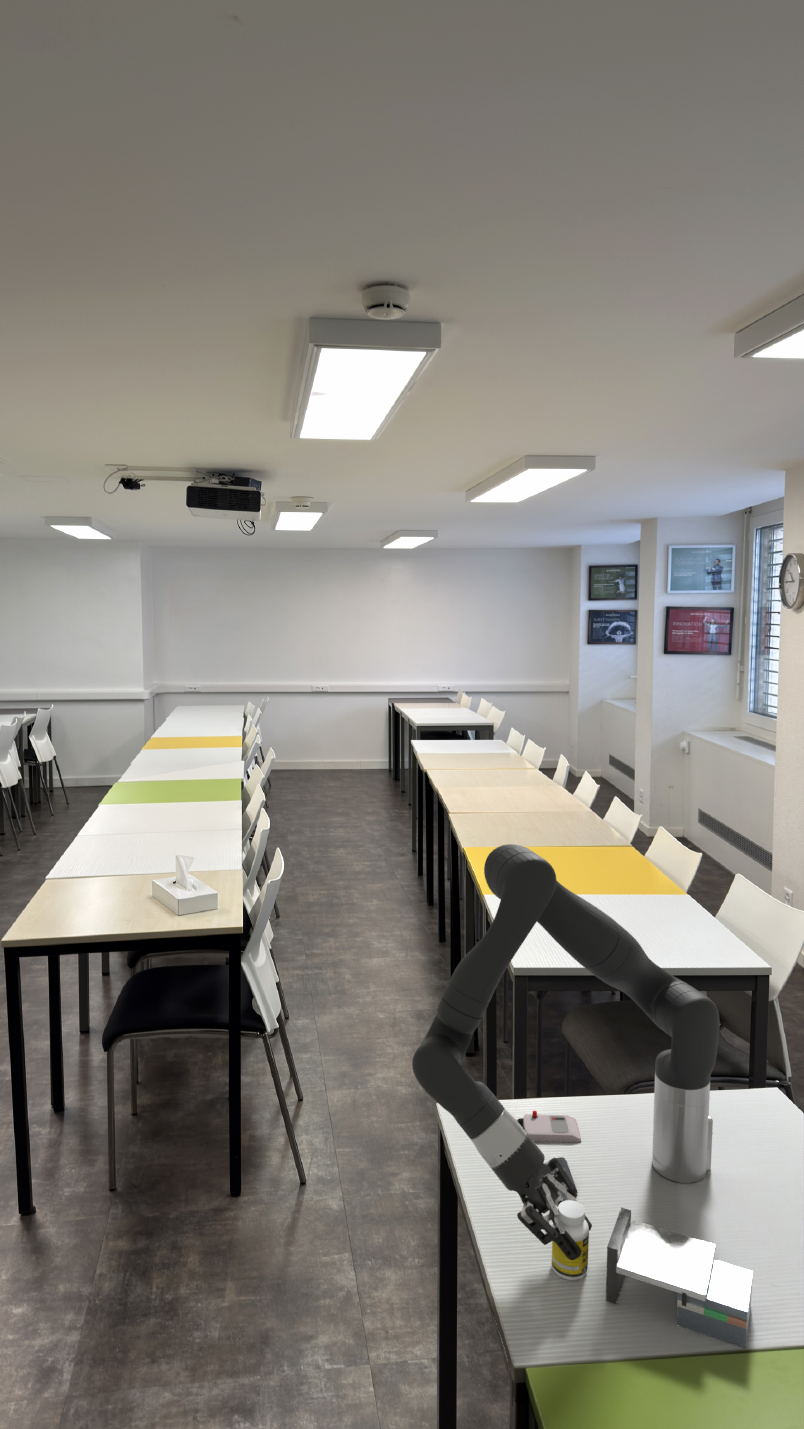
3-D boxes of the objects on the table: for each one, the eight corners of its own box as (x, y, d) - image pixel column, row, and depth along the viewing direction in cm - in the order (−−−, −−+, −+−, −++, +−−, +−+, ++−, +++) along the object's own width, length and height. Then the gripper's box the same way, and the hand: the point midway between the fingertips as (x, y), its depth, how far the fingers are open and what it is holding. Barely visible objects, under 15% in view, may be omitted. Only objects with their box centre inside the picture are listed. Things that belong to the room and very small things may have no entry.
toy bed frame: (604, 1304, 127) (606, 1249, 126) (620, 1255, 136) (622, 1204, 135) (703, 1338, 121) (706, 1281, 120) (713, 1284, 130) (715, 1231, 129)
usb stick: (551, 1164, 159) (551, 1156, 159) (565, 1163, 160) (566, 1155, 159) (563, 1199, 150) (563, 1191, 150) (578, 1198, 150) (578, 1190, 150)
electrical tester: (591, 1144, 165) (591, 1129, 165) (506, 1142, 166) (506, 1127, 165) (585, 1123, 172) (585, 1108, 171) (503, 1121, 172) (504, 1107, 172)
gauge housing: (676, 1326, 123) (677, 1290, 123) (685, 1285, 131) (686, 1251, 130) (745, 1349, 120) (747, 1312, 119) (750, 1306, 127) (752, 1271, 126)
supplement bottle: (588, 1284, 131) (589, 1223, 130) (550, 1278, 132) (551, 1218, 131) (587, 1257, 136) (589, 1199, 135) (552, 1252, 137) (553, 1194, 136)
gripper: (508, 1163, 128) (588, 1265, 125) (538, 1111, 141) (611, 1202, 138) (473, 1187, 131) (551, 1287, 128) (506, 1134, 144) (577, 1223, 141)
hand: (582, 1242), depth 133 cm, fingers closed on supplement bottle, 5 cm apart
